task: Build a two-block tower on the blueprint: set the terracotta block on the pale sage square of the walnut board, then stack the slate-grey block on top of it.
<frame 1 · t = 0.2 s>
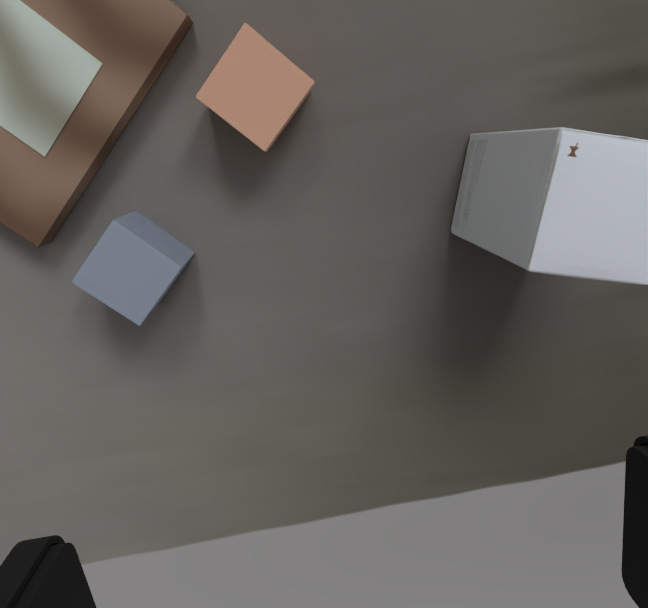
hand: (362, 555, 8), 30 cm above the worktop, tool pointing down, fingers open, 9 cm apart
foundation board: (37, 78, 33), on the worktop
supplement box: (504, 190, 37), on the worktop
terracotta block: (259, 97, 34), on the worktop
slate block: (147, 258, 37), on the worktop
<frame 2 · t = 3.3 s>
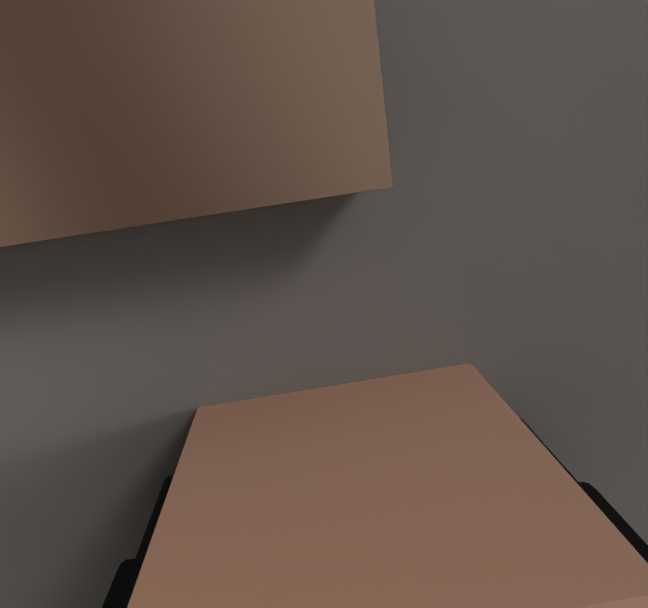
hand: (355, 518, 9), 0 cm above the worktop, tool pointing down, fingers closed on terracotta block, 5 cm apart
terracotta block: (352, 499, 10), on the worktop, touching gripper
when the fingers open (4 cm above the worktop, at t = 9.4 s): terracotta block drops 1 cm, resting on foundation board.
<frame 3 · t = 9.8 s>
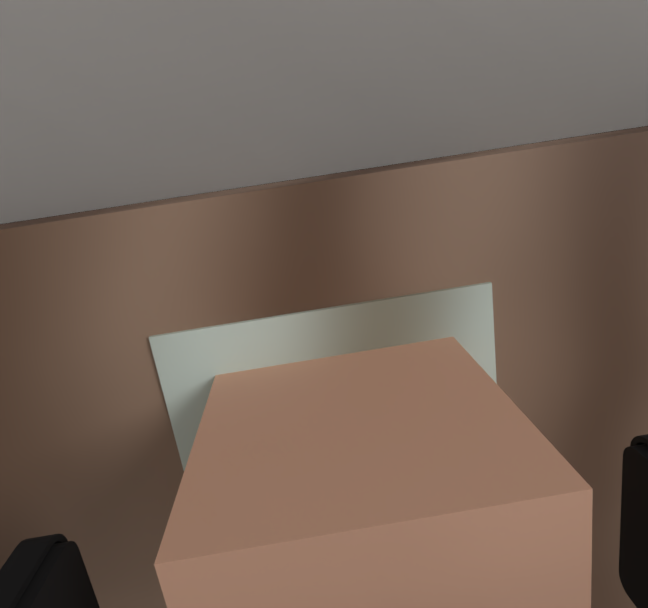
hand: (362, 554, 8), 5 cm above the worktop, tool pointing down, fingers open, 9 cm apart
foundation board: (335, 412, 13), on the worktop
terracotta block: (350, 458, 11), point 2 cm above the worktop, touching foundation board
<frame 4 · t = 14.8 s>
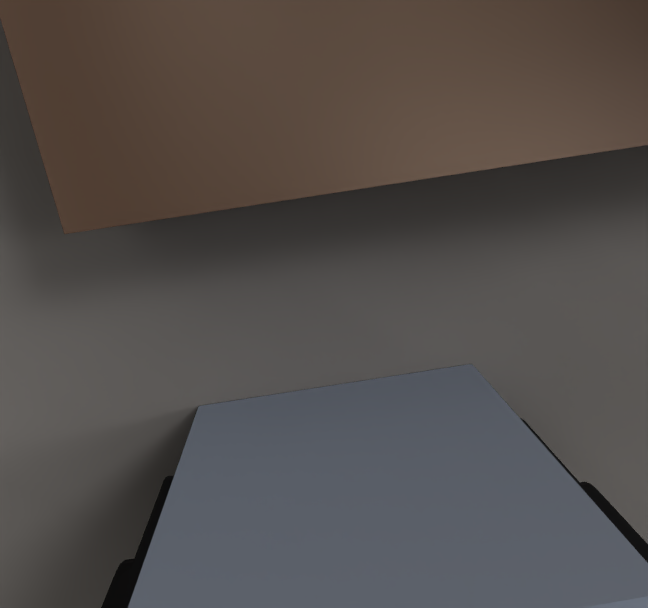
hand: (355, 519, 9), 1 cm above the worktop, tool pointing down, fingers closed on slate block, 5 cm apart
slate block: (352, 499, 10), on the worktop, touching gripper
when the fingers open (9 cm above the worktop, at t = 20.2 s): slate block drops 1 cm, resting on terracotta block.
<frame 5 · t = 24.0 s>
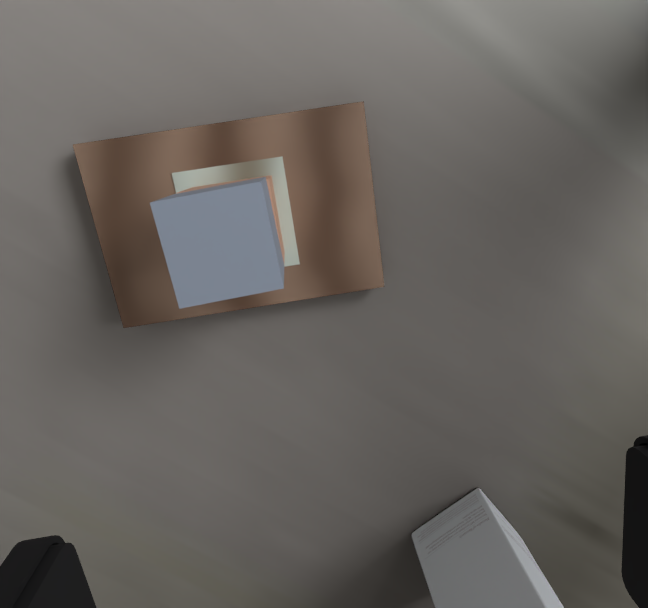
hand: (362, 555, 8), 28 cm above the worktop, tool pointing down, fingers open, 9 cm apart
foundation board: (240, 216, 35), on the worktop
supplement box: (465, 534, 44), on the worktop
terracotta block: (239, 220, 33), point 2 cm above the worktop, touching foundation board, slate block
slate block: (230, 231, 28), point 7 cm above the worktop, touching terracotta block
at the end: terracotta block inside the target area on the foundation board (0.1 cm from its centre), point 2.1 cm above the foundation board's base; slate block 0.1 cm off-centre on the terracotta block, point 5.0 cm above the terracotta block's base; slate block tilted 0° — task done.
